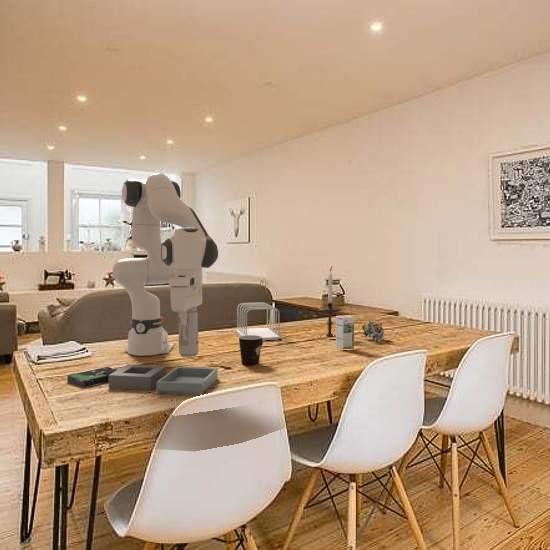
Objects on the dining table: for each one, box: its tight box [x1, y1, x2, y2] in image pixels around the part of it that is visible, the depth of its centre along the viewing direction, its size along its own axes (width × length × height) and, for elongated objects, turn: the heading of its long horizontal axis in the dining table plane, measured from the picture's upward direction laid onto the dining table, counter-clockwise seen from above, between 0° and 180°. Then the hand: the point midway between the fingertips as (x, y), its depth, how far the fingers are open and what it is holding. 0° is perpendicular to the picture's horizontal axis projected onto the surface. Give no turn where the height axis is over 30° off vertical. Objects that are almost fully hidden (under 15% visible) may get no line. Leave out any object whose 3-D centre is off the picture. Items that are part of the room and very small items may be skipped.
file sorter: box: [235, 301, 282, 342], centre depth 234 cm, size 25×17×16 cm
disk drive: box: [67, 366, 119, 388], centre depth 158 cm, size 10×3×15 cm
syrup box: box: [335, 314, 355, 349], centre depth 206 cm, size 6×6×14 cm
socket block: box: [108, 363, 168, 390], centre depth 155 cm, size 14×14×4 cm
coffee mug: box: [238, 335, 264, 367], centre depth 181 cm, size 12×9×10 cm
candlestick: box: [318, 265, 342, 338], centre depth 230 cm, size 11×11×35 cm
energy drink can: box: [177, 307, 199, 358], centre depth 151 cm, size 6×6×15 cm
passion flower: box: [361, 319, 386, 343], centre depth 225 cm, size 11×11×12 cm
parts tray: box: [155, 366, 219, 396], centre depth 152 cm, size 18×14×4 cm
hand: (188, 322), depth 151 cm, fingers closed on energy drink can, 6 cm apart
